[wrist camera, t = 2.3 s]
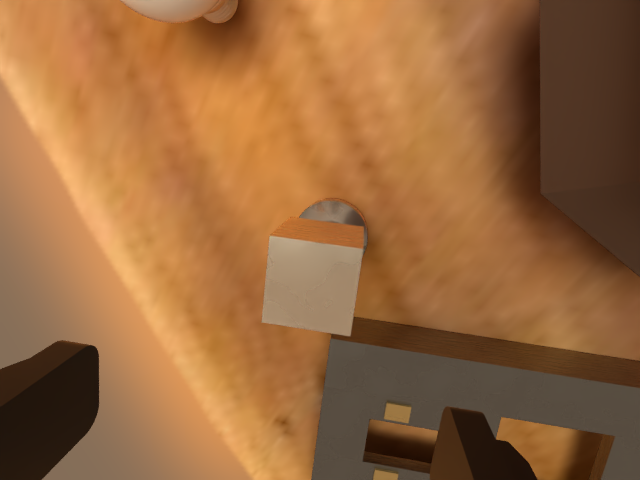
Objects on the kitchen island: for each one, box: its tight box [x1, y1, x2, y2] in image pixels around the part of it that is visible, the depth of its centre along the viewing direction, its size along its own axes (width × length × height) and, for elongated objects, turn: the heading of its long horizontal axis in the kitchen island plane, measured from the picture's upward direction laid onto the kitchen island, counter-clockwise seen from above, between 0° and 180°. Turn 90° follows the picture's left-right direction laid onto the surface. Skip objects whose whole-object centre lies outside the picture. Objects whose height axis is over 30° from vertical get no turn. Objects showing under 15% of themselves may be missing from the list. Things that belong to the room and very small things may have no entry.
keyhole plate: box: [311, 317, 640, 480], centre depth 29 cm, size 22×14×4 cm, turn 83°
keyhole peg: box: [262, 198, 368, 336], centre depth 23 cm, size 5×5×12 cm
